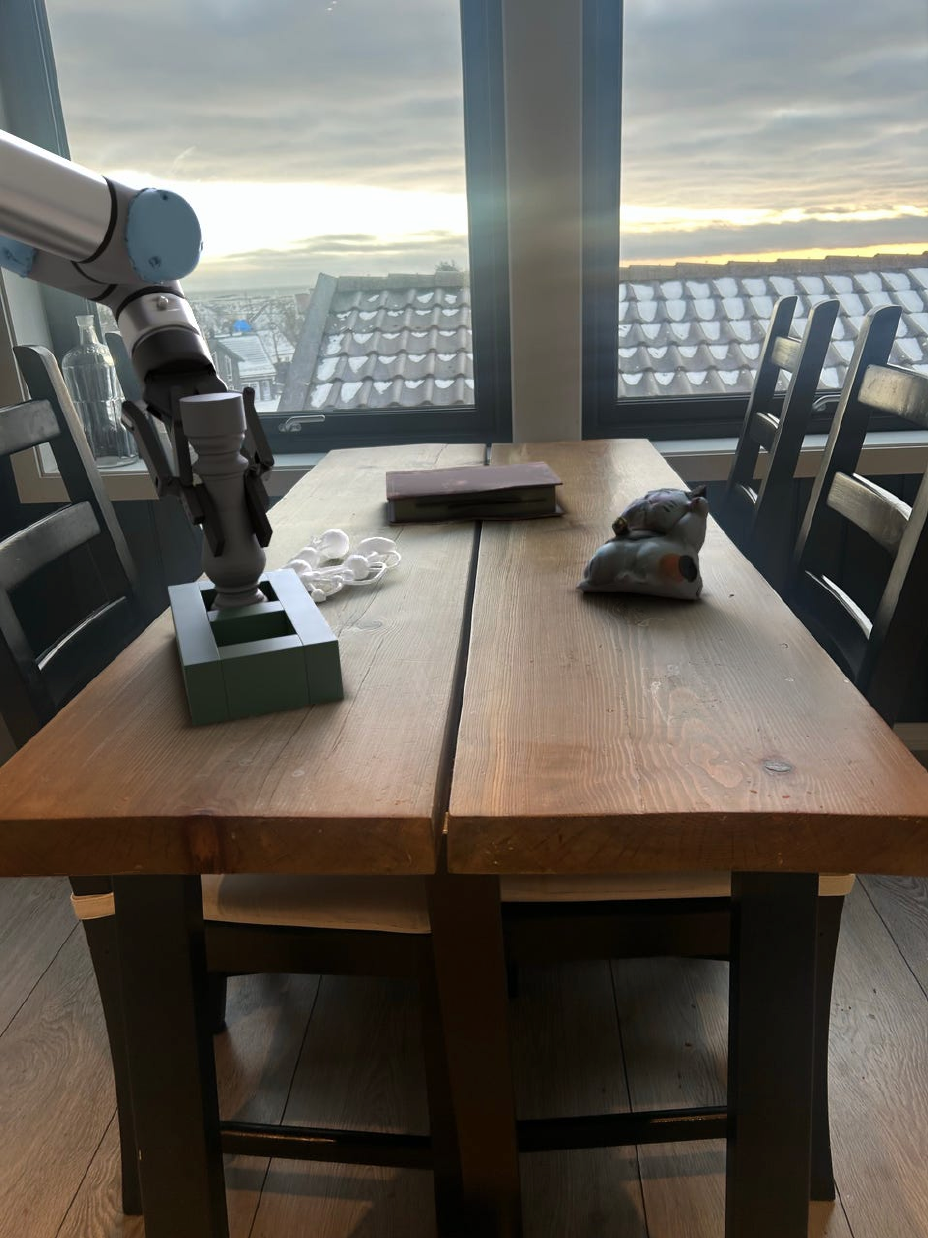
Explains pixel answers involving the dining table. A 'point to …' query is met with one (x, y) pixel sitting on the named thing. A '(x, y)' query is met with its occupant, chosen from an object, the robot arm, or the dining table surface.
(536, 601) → the dining table surface
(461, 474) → the diary
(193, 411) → the candle holder
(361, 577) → the tangled rod sculpture
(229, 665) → the rack
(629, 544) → the lucky cat figurine
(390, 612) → the dining table surface
